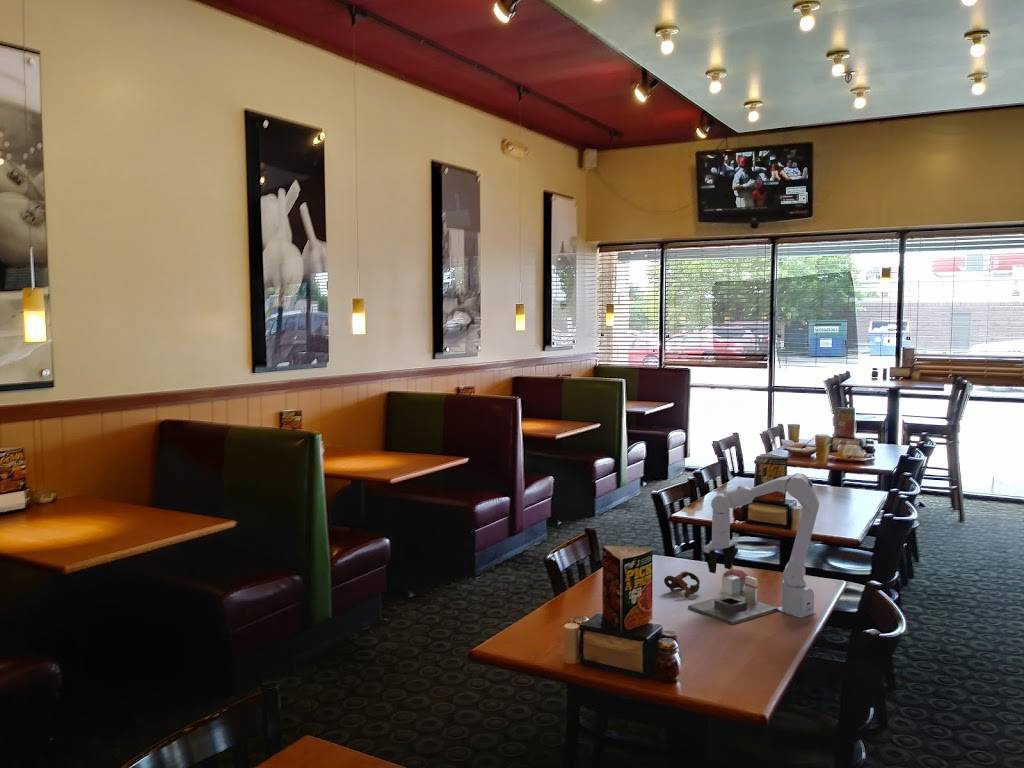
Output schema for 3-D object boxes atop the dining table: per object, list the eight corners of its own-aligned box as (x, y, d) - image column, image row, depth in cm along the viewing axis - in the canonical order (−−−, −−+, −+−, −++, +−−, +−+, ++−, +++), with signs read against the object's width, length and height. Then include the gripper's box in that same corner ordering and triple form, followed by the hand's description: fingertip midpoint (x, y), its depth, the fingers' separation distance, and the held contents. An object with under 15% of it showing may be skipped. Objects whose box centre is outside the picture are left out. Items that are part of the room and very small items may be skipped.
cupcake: (722, 592, 283) (722, 558, 282) (723, 585, 291) (723, 552, 290) (748, 594, 280) (748, 560, 279) (748, 587, 288) (749, 553, 287)
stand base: (777, 611, 264) (778, 583, 263) (732, 624, 251) (732, 596, 251) (733, 596, 279) (733, 570, 278) (688, 608, 266) (688, 581, 266)
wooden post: (740, 596, 264) (740, 577, 263) (731, 598, 261) (732, 579, 261) (730, 593, 267) (730, 574, 267) (721, 595, 265) (721, 576, 264)
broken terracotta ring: (691, 588, 288) (700, 572, 284) (695, 608, 280) (704, 591, 276) (658, 581, 287) (667, 564, 283) (661, 600, 279) (670, 583, 275)
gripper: (726, 525, 279) (725, 564, 280) (696, 530, 271) (695, 571, 272) (742, 529, 273) (741, 569, 274) (713, 535, 265) (712, 576, 266)
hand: (720, 570), depth 273 cm, fingers open, 7 cm apart
